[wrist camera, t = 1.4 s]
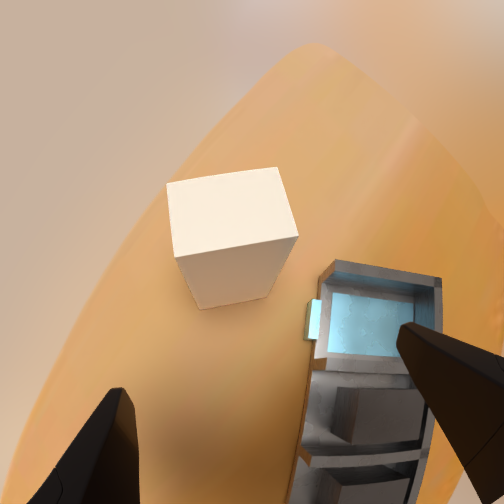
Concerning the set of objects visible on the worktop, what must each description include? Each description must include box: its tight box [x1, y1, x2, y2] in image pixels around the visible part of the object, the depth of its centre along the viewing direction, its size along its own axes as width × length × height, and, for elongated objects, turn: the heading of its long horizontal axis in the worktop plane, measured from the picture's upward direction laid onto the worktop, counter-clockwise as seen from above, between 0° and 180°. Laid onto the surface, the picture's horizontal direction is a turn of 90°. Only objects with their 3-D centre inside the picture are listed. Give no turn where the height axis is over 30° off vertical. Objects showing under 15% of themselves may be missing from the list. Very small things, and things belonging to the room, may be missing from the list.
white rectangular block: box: [166, 167, 299, 310], centre depth 18 cm, size 4×5×11 cm
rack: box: [285, 259, 443, 504], centre depth 17 cm, size 20×10×5 cm, turn 171°
